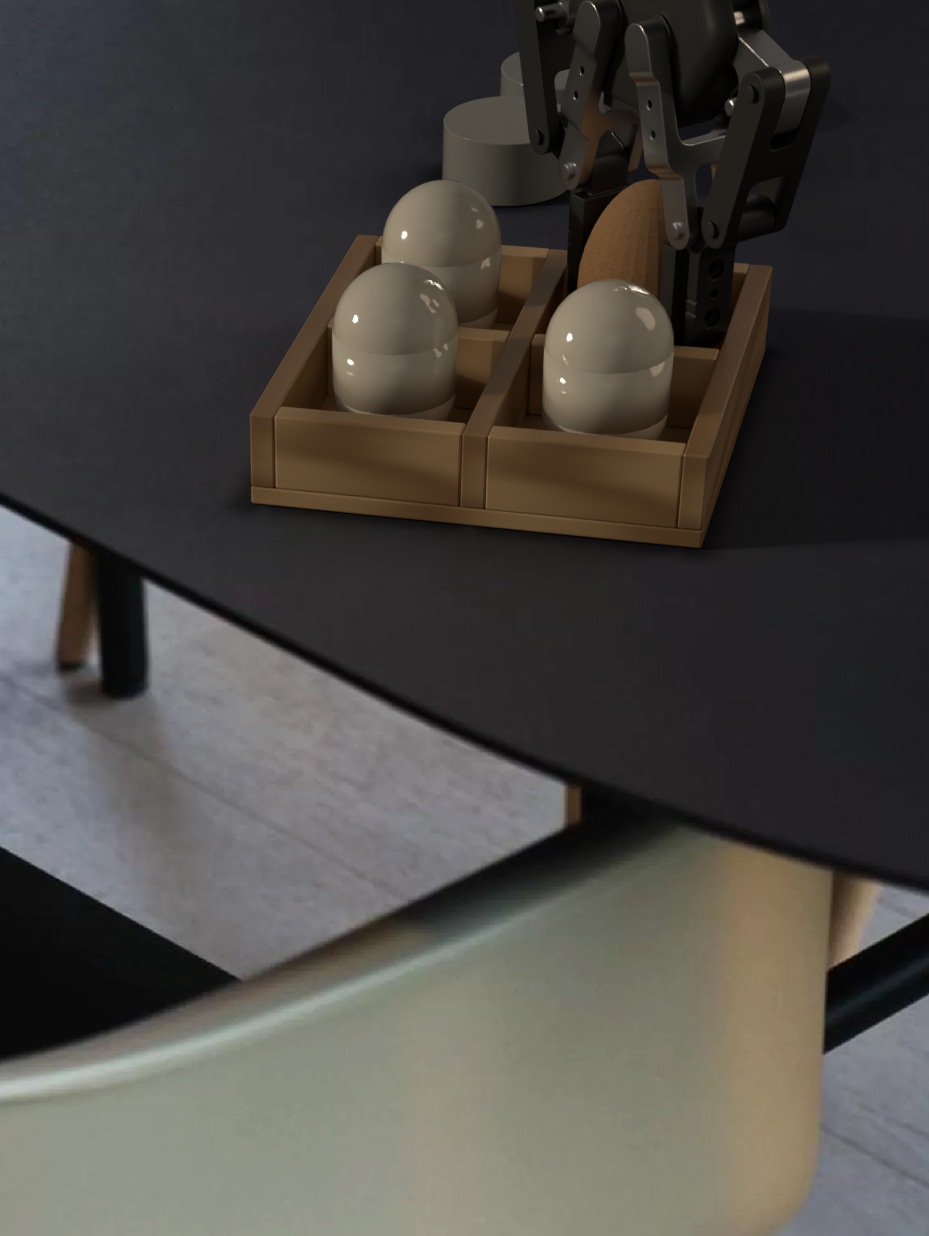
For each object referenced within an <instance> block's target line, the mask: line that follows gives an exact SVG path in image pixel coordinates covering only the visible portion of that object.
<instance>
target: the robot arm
mask: <svg viewBox="0 0 929 1236" xmlns="http://www.w3.org/2000/svg"><path fill="white" fill-rule="evenodd" d="M512 3H513V4H512V5H513V11H514V19H515V30H516V36H517V46H518V52H519V55H520V64H521V72H522V81H523V90H524V98H525V107H526V115H527V124H528V133H529V140H530V143H531V146H532V148H533V149H534V151H535V152H536V153H537V154H539V155H544V154H547V153H551V152H552V153H553V154H554V156H555V157H556V158H557V159H558V161H559V163H558V172H559V177H560V180H561V182H562V184H563V185H564V187H565V188H566V189H568V190H567V191H569V207H568V210H569V212H568V231H569V232H568V233H567V243H568V244H567V249H566V250H567V263H568V270H569V278H568V291H569V294H571V293H572V292H573V291H575V290H577V282H578V273H579V266H580V262H581V259H582V255H583V252H584V249H585V246H586V243H587V241H588V239H589V236H590V234H591V232H592V230H593V228H594V226H595V224H596V222H597V221H598V219H599V217H600V216H601V214H602V213H603V211H604V210H605V209H606V207H607V206H608V205H609V204H610V202H611V201H612V200H613V199H614V198H615V197H616V196H617V195H618V194H619V193H620V192H621V191H622V190H624V189H626V188H627V187H629V186H631V185H632V184H634V183H636V181H632V180H631V179H629V178H628V176H630V175H633V174H636V173H637V171H638V170H639V166H640V163H641V159H642V156H643V159H644V164H645V167H646V168H647V169H646V170H647V171H649V172H650V173H651V174H652V173H653V174H654V175H656V176H657V177H658V178H659V180H660V183H661V192H662V201H663V210H664V219H665V229H666V235H667V238H668V241H669V242H667V243H663V255H662V269H661V283H660V298H659V301H660V303H661V304H662V305H663V306H664V308H665V310H666V312H667V314H668V316H669V318H670V321H671V324H672V328H673V332H674V345H675V346H687V347H699V348H713V347H715V346H716V345H717V344H718V343H719V342H720V341H721V339H722V337H723V336H724V335H725V332H726V330H727V327H728V325H729V318H730V307H729V306H730V304H731V295H730V293H731V292H732V284H733V272H734V263H735V260H736V252H737V251H736V250H737V246H738V244H739V243H742V242H747V241H750V240H752V239H757V238H760V237H763V236H767V235H770V234H774V233H778V232H781V231H783V230H784V229H785V228H786V227H787V224H788V221H789V217H790V214H791V211H792V208H793V205H794V202H795V198H796V195H797V193H798V189H799V186H800V183H801V179H802V176H803V173H804V170H805V167H806V164H807V160H808V158H809V154H810V151H811V148H812V145H813V142H814V139H815V136H816V132H817V129H818V125H819V123H820V120H821V116H822V113H823V110H824V107H825V104H826V100H827V97H828V94H829V91H830V88H831V84H832V75H831V74H832V73H831V70H830V66H829V64H828V62H827V61H826V59H825V58H824V57H823V56H821V55H818V54H815V55H810V56H807V57H803V58H798V59H796V60H795V59H793V58H792V57H791V56H790V55H789V54H788V53H787V52H786V51H785V50H784V48H782V47H781V46H780V45H779V44H778V43H777V42H776V41H775V40H774V39H773V38H772V37H771V36H770V35H771V29H772V28H771V27H772V19H771V11H770V8H769V2H768V0H512ZM567 69H570V70H569V74H568V78H567V82H566V86H565V90H564V94H563V98H562V102H561V107H560V110H561V111H559V112H558V108H557V100H556V91H555V77H556V75H557V74H558V73H559V72H560V71H563V70H567ZM716 117H717V120H716V124H715V127H714V128H713V129H712V130H711V131H710V132H709V133H706V134H703V135H699V136H696V137H692V138H688V139H683V140H682V139H681V137H680V135H679V131H678V130H680V129H682V128H687V127H691V126H694V125H699V124H702V123H706V122H709V121H713V120H714V119H715V118H716ZM612 129H613V130H612ZM610 130H612V132H611V131H610ZM707 165H709V166H710V170H711V180H712V182H711V186H710V189H709V193H708V196H707V200H706V201H705V202H702V203H698V196H697V185H696V184H697V183H696V173H697V171H698V170H699V168H702V167H703V166H707ZM757 184H758V186H757V189H756V193H755V195H750V192H751V190H752V189H753V188H754V186H756V185H757Z"/></svg>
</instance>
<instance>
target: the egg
mask: <svg viewBox="0 0 929 1236" xmlns="http://www.w3.org/2000/svg"><path fill="white" fill-rule="evenodd" d="M667 242H669V241H668V238H667V235H666V229H665V219H664V210H663V201H662V192H661V183H660V179H656V178H650V179H644V180H640V181H635V183H634V184H632V185H631V186H629V187H627V188H626V189H624V190H622V191H621V192H620V193H619V194H618V195H617V196H616V197H615V198H614V199H613V200H612V201H611V202H610V204H609V205H608V206H607V207H606V209H605V210H604V211H603V213H602V214H601V216H600V217H599V219H598V221H597V222H596V224H595V226H594V228H593V230H592V232H591V234H590V236H589V239H588V241H587V243H586V246H585V249H584V252H583V255H582V259H581V262H580V266H579V273H578V282H577V289H578V288H580V287H581V286H583V285H585V284H588V283H591V282H594V281H598V280H602V279H623V280H627V281H630V282H633V283H636V284H639V285H641V286H642V287H644V288H645V289H647V290H648V291H649V292H651V293H652V294H654V295H655V297H656V298H657V299H658V300H659V298H660V283H661V269H662V255H663V243H667Z"/></svg>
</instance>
